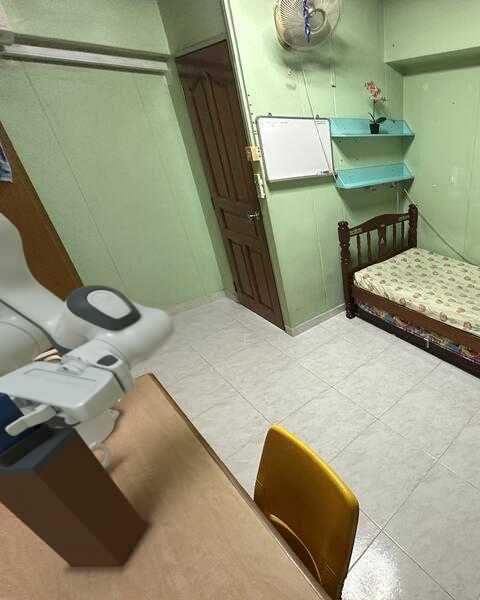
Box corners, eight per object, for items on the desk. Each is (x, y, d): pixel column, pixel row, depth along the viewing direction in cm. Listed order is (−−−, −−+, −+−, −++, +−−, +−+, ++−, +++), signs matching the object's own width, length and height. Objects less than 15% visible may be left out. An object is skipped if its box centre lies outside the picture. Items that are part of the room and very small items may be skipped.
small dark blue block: (0, 456, 48) (-44, 411, 43) (31, 434, 51) (-6, 390, 47) (12, 459, 48) (-31, 414, 43) (43, 437, 51) (6, 393, 46)
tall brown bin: (71, 567, 62) (-49, 458, 45) (101, 526, 68) (5, 417, 51) (122, 566, 62) (21, 458, 45) (147, 526, 69) (67, 417, 52)
